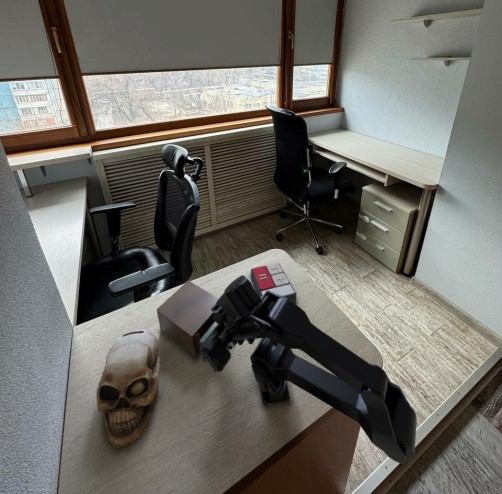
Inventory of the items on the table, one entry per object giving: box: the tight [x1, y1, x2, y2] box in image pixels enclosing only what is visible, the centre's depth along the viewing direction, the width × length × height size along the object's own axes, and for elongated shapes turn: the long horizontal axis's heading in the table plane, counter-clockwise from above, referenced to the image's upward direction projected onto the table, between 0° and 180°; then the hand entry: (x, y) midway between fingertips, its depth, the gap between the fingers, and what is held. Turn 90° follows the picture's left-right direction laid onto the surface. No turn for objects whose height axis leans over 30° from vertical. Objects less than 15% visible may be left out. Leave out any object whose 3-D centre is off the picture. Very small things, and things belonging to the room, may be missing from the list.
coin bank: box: [96, 329, 161, 449], centre depth 62 cm, size 16×17×13 cm
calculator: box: [250, 262, 297, 309], centre depth 90 cm, size 11×4×15 cm
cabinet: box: [156, 279, 219, 360], centre depth 77 cm, size 14×12×9 cm
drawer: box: [195, 317, 220, 362], centre depth 75 cm, size 14×11×7 cm
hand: (217, 330), depth 71 cm, fingers closed, pressing on drawer
